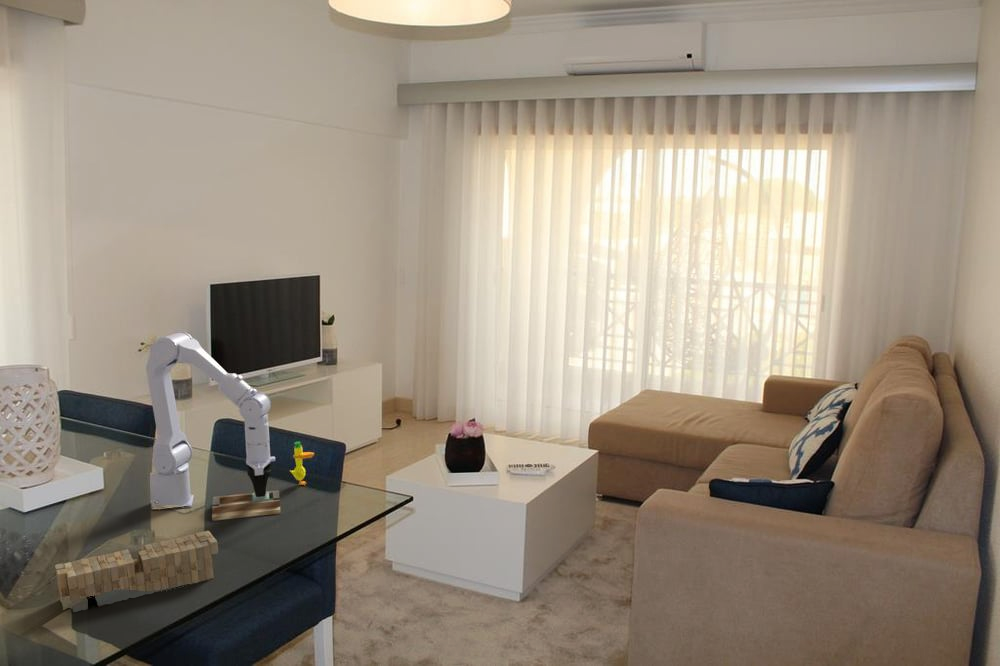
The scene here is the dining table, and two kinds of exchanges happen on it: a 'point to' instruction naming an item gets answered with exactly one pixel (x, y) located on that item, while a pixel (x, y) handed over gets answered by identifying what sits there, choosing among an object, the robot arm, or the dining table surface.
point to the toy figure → (300, 462)
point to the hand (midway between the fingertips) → (260, 494)
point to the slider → (259, 499)
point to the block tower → (140, 568)
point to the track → (244, 506)
